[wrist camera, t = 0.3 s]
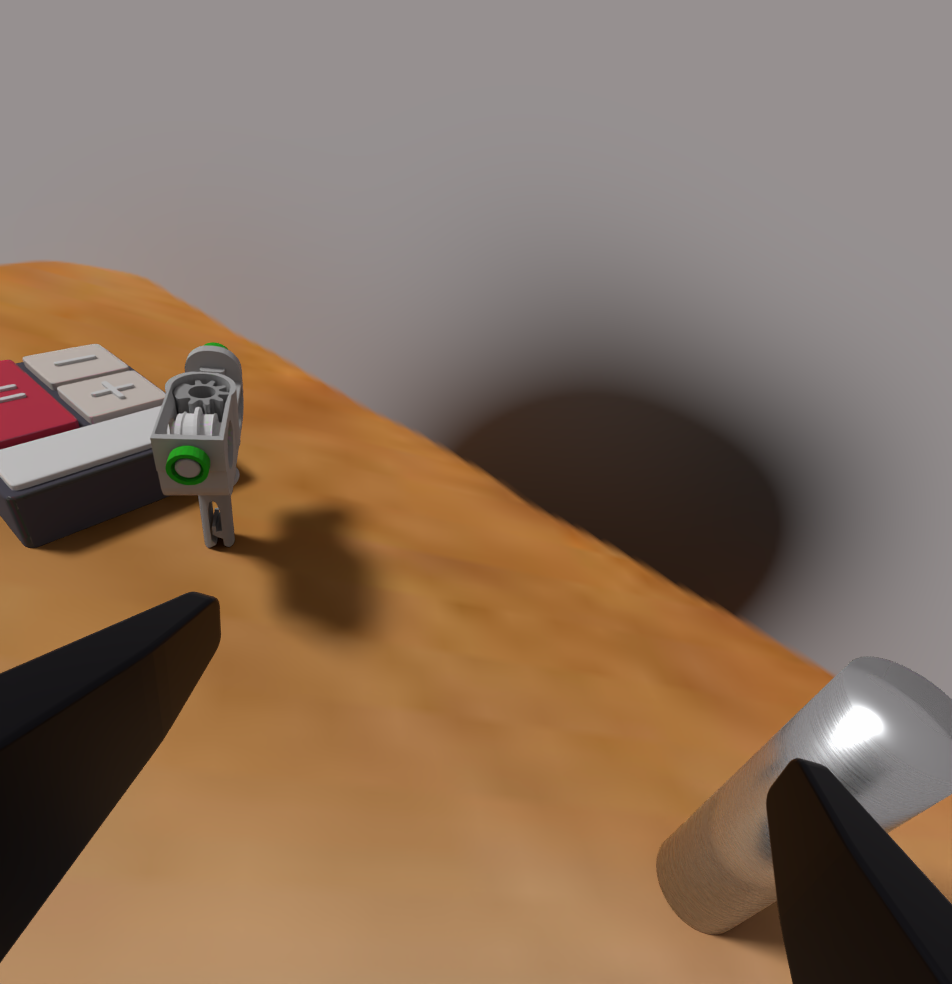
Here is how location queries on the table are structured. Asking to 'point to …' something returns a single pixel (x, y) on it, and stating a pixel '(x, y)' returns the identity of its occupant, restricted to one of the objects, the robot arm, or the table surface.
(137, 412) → the calculator
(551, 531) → the table surface
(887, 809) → the axle
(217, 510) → the mechanical component
